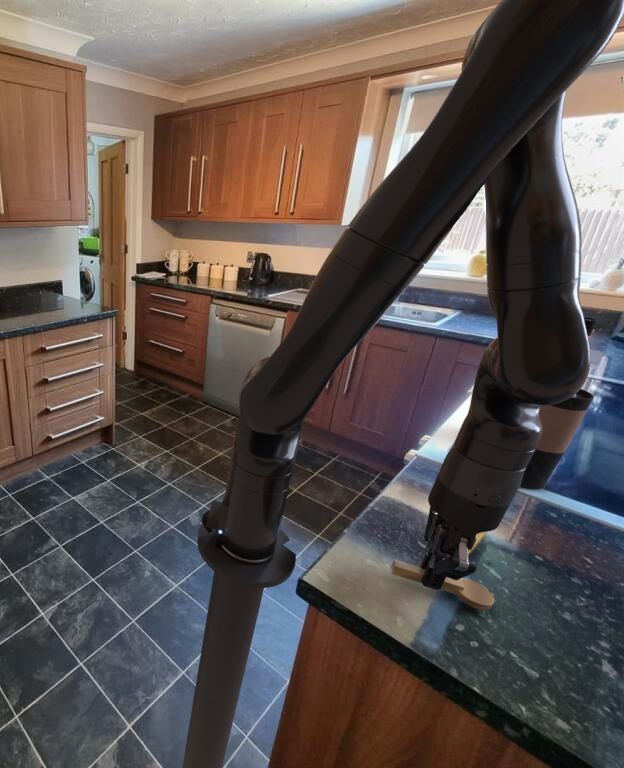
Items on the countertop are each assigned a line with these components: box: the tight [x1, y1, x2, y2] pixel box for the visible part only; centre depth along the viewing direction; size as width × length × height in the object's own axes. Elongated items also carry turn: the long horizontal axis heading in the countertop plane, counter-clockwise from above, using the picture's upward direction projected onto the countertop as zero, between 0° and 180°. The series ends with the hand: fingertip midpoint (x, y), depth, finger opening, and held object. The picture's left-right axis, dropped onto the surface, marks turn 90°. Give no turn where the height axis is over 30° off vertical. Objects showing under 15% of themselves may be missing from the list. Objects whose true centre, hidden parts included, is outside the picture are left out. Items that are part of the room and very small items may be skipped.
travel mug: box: [519, 388, 594, 490], centre depth 82 cm, size 8×8×20 cm
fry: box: [468, 532, 488, 556], centre depth 69 cm, size 7×2×2 cm, turn 125°
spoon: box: [390, 559, 495, 611], centre depth 60 cm, size 12×4×2 cm, turn 65°
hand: (428, 580), depth 61 cm, fingers closed on spoon, 1 cm apart
